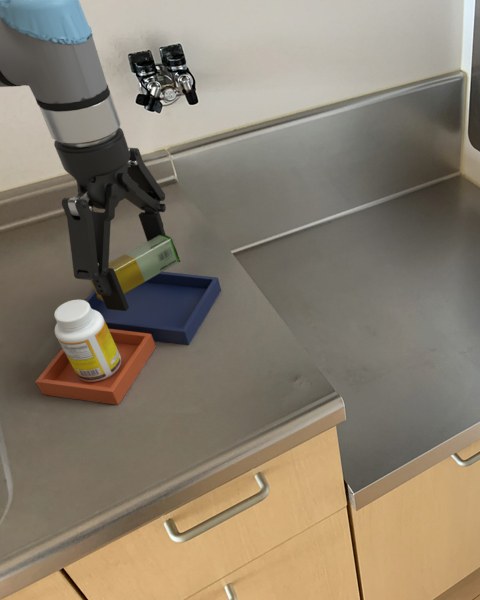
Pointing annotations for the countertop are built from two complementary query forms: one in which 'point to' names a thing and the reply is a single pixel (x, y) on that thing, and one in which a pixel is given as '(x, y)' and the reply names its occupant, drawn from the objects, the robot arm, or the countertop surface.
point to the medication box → (144, 262)
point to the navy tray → (163, 306)
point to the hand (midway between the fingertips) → (140, 278)
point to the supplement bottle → (86, 341)
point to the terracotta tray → (110, 390)
